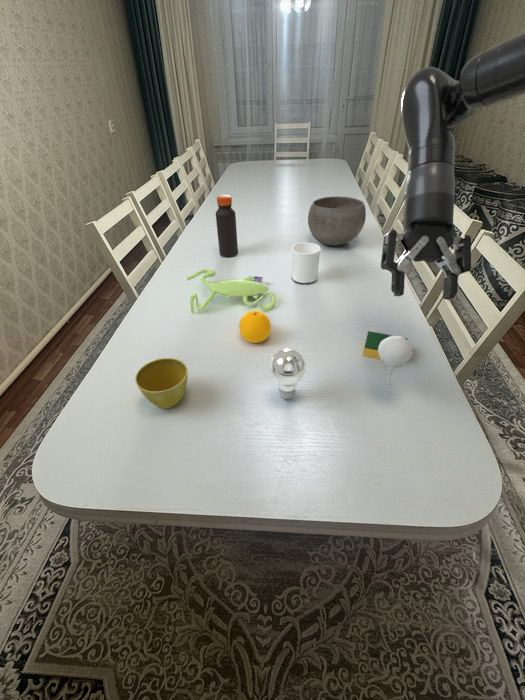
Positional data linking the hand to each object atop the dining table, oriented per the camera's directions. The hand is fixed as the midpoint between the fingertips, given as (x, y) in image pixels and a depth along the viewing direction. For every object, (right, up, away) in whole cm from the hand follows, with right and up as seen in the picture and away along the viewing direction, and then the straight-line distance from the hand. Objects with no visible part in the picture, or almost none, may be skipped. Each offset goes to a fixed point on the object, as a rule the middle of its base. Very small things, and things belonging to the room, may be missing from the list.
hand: (423, 297), depth 60 cm
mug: (-13, +15, +56) cm, 60 cm away
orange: (-29, -6, +31) cm, 43 cm away
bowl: (+1, +33, +79) cm, 86 cm away
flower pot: (-47, -19, +15) cm, 53 cm away
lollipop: (0, -16, +17) cm, 24 cm away
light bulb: (-22, -19, +15) cm, 32 cm away
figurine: (-37, +7, +48) cm, 61 cm away
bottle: (-39, +27, +73) cm, 87 cm away
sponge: (+2, -9, +26) cm, 27 cm away
